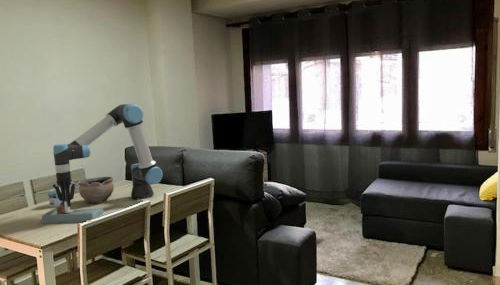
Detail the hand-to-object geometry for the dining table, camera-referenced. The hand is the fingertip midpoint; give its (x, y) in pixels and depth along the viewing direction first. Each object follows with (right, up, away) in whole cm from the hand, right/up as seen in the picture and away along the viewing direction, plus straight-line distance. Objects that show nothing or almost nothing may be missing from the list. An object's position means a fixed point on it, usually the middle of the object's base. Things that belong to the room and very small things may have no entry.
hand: (67, 212), depth 239 cm
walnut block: (-3, -2, +2) cm, 4 cm away
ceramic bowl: (+2, 0, +41) cm, 41 cm away
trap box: (+2, -4, +4) cm, 6 cm away
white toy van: (-22, -2, +37) cm, 43 cm away
